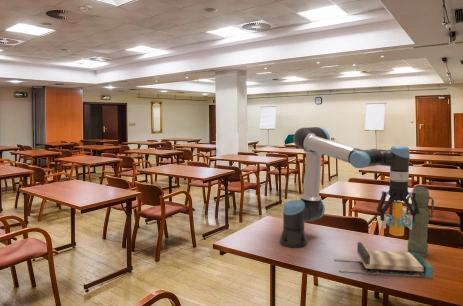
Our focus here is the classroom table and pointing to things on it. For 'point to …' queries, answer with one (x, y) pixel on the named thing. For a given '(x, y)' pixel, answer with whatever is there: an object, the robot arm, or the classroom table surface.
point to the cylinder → (397, 220)
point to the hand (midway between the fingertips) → (396, 228)
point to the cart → (388, 260)
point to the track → (426, 273)
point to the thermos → (420, 222)
